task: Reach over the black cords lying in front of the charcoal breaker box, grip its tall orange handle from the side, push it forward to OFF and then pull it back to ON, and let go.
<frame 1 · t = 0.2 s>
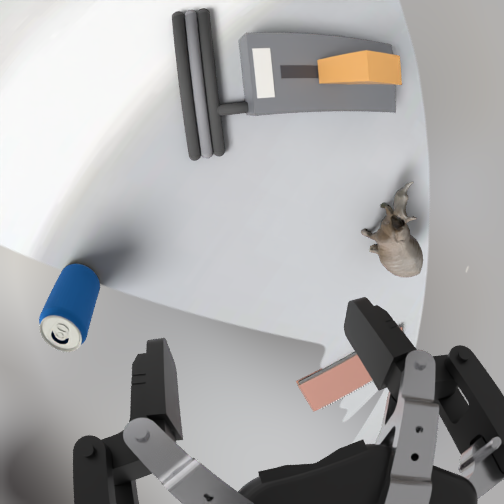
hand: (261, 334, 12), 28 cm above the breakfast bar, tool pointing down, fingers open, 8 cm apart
notebook: (353, 369, 67), on the breakfast bar
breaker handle: (356, 69, 25), point 9 cm above the breakfast bar, slide at 0.0 cm
beverage can: (81, 279, 39), on the breakfast bar
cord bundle: (197, 81, 31), on the breakfast bar
breaker box: (317, 74, 33), on the breakfast bar
rhinoceros figurine: (379, 224, 47), on the breakfast bar
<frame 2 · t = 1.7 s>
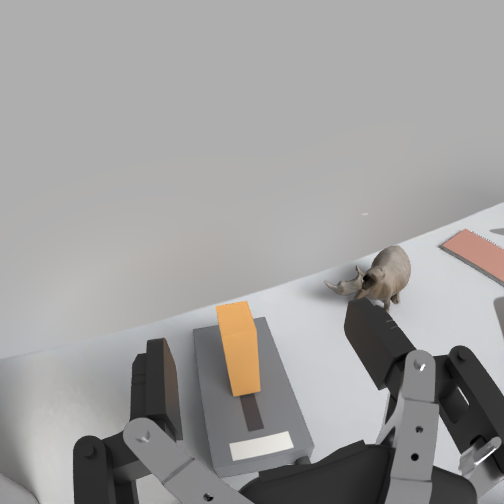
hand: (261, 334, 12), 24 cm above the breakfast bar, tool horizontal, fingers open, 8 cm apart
notebook: (495, 265, 53), on the breakfast bar
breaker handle: (239, 352, 29), point 9 cm above the breakfast bar, slide at 0.0 cm
breaker box: (246, 398, 34), on the breakfast bar
rhinoceros figurine: (372, 304, 47), on the breakfast bar
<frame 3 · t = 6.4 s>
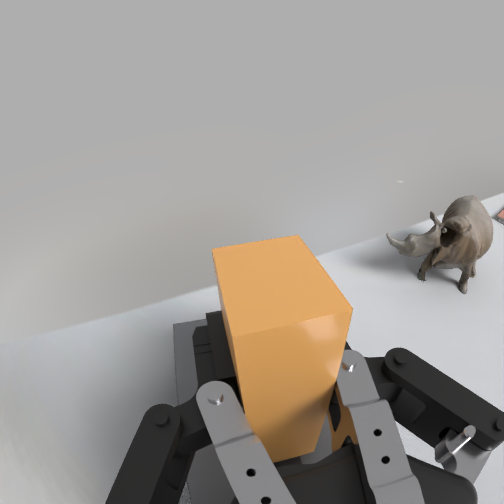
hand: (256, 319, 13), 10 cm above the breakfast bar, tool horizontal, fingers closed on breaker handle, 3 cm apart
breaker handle: (274, 377, 11), point 9 cm above the breakfast bar, slide at 0.0 cm, touching gripper
breaker box: (274, 454, 16), on the breakfast bar
rhinoceros figurine: (442, 276, 30), on the breakfast bar
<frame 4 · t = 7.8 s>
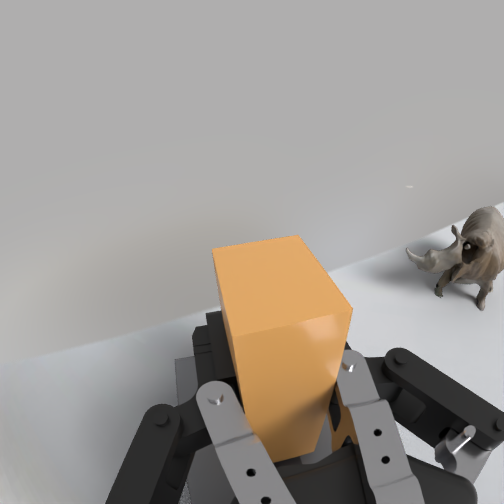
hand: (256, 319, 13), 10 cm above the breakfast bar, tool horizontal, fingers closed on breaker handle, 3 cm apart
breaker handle: (274, 377, 11), point 9 cm above the breakfast bar, slide at 3.5 cm, touching gripper
breaker box: (289, 498, 13), on the breakfast bar
rhinoceros figurine: (459, 291, 28), on the breakfast bar
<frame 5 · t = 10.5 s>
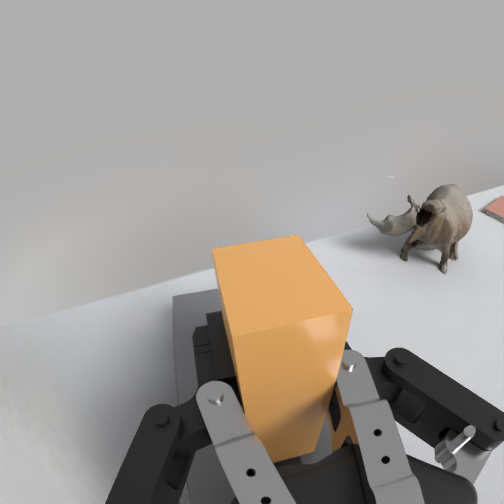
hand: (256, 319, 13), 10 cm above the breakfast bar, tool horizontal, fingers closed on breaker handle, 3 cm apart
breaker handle: (274, 377, 11), point 9 cm above the breakfast bar, slide at -3.4 cm, touching gripper
breaker box: (261, 413, 19), on the breakfast bar
rhinoceros figurine: (425, 258, 34), on the breakfast bar
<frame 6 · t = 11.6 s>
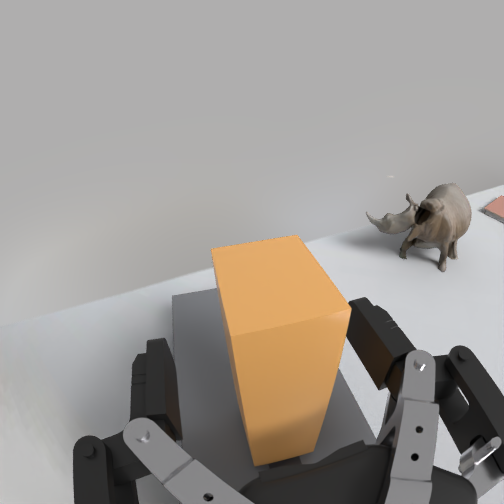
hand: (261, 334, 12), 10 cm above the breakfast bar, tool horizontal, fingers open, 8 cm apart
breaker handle: (273, 377, 11), point 9 cm above the breakfast bar, slide at -3.5 cm
breaker box: (261, 412, 19), on the breakfast bar
rhinoceros figurine: (424, 257, 34), on the breakfast bar
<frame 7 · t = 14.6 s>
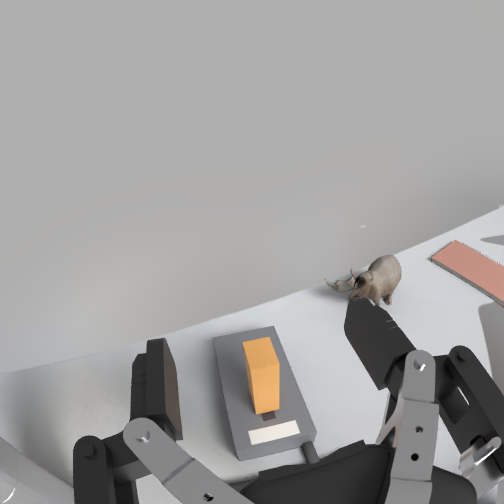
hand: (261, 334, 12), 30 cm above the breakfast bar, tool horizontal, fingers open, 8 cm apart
notebook: (482, 275, 59), on the breakfast bar
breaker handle: (262, 378, 33), point 9 cm above the breakfast bar, slide at -3.5 cm
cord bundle: (288, 487, 28), on the breakfast bar
breaker box: (259, 395, 41), on the breakfast bar
rhinoceros figurine: (367, 302, 56), on the breakfast bar
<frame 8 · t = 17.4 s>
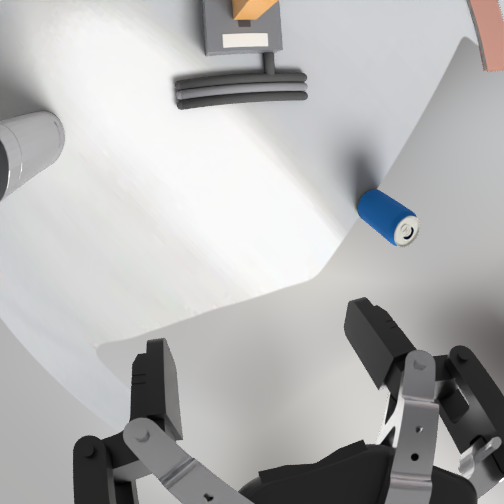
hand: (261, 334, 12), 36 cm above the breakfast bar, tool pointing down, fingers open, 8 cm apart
notebook: (486, 20, 36), on the breakfast bar
beverage can: (369, 203, 54), on the breakfast bar
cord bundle: (243, 88, 39), on the breakfast bar
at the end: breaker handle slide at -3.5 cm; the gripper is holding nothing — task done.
